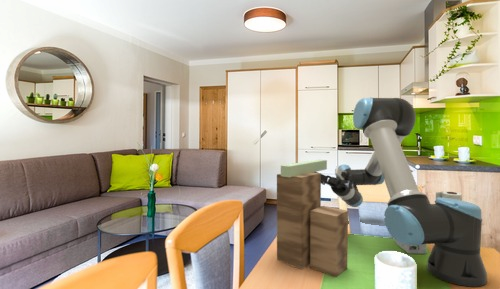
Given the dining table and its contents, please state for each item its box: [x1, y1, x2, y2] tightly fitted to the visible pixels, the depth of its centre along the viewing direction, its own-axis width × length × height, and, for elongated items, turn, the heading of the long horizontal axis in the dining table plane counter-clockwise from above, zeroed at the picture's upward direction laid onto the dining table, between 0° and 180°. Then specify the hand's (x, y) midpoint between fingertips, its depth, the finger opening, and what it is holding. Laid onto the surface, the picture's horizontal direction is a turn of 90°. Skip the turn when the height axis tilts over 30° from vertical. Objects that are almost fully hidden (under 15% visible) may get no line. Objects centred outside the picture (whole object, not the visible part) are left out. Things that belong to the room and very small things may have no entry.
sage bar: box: [280, 159, 328, 177], centre depth 103 cm, size 24×4×4 cm, turn 136°
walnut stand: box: [276, 172, 349, 278], centre depth 97 cm, size 12×20×30 cm, turn 46°
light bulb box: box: [394, 239, 427, 255], centre depth 110 cm, size 11×7×11 cm, turn 179°
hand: (320, 167), depth 112 cm, fingers open, 13 cm apart
